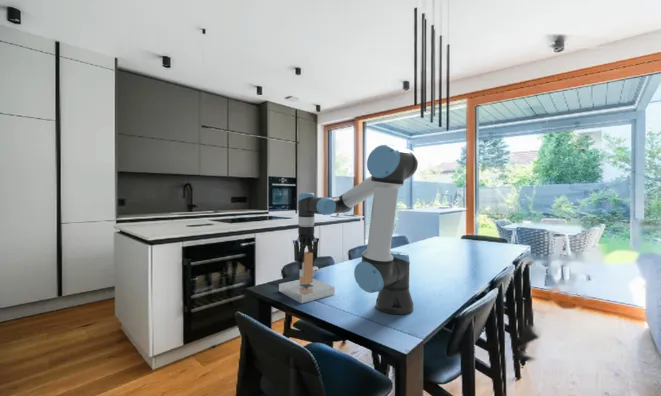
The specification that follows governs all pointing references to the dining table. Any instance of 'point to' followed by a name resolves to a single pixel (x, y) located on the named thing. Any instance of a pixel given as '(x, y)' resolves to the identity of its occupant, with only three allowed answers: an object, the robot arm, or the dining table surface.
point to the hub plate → (306, 290)
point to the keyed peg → (307, 268)
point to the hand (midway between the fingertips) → (306, 275)
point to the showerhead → (315, 269)
